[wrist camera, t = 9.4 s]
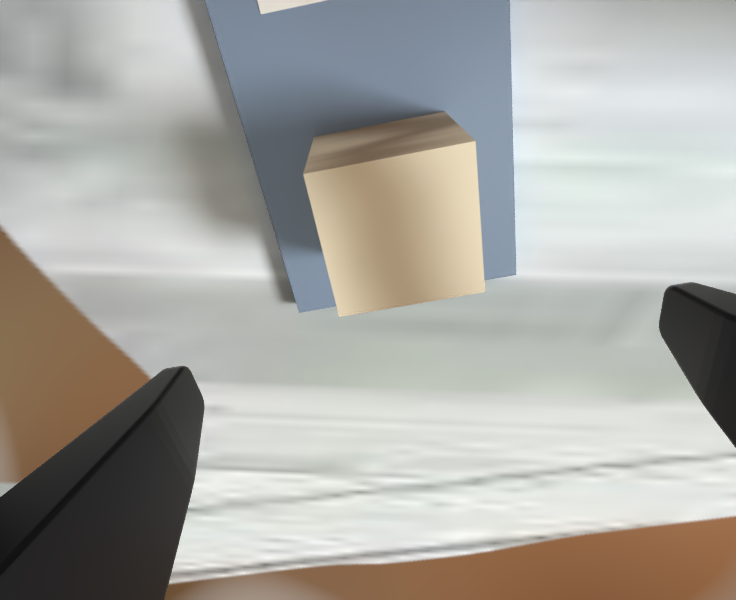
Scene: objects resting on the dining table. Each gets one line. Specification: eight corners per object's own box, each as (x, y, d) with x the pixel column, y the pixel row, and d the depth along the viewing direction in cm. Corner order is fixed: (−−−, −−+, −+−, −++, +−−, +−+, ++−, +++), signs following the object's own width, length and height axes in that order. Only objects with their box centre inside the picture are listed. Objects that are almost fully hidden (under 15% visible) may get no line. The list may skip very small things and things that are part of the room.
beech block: (444, 111, 18) (475, 141, 14) (456, 233, 20) (485, 291, 16) (313, 137, 18) (303, 174, 14) (340, 254, 21) (339, 316, 16)
